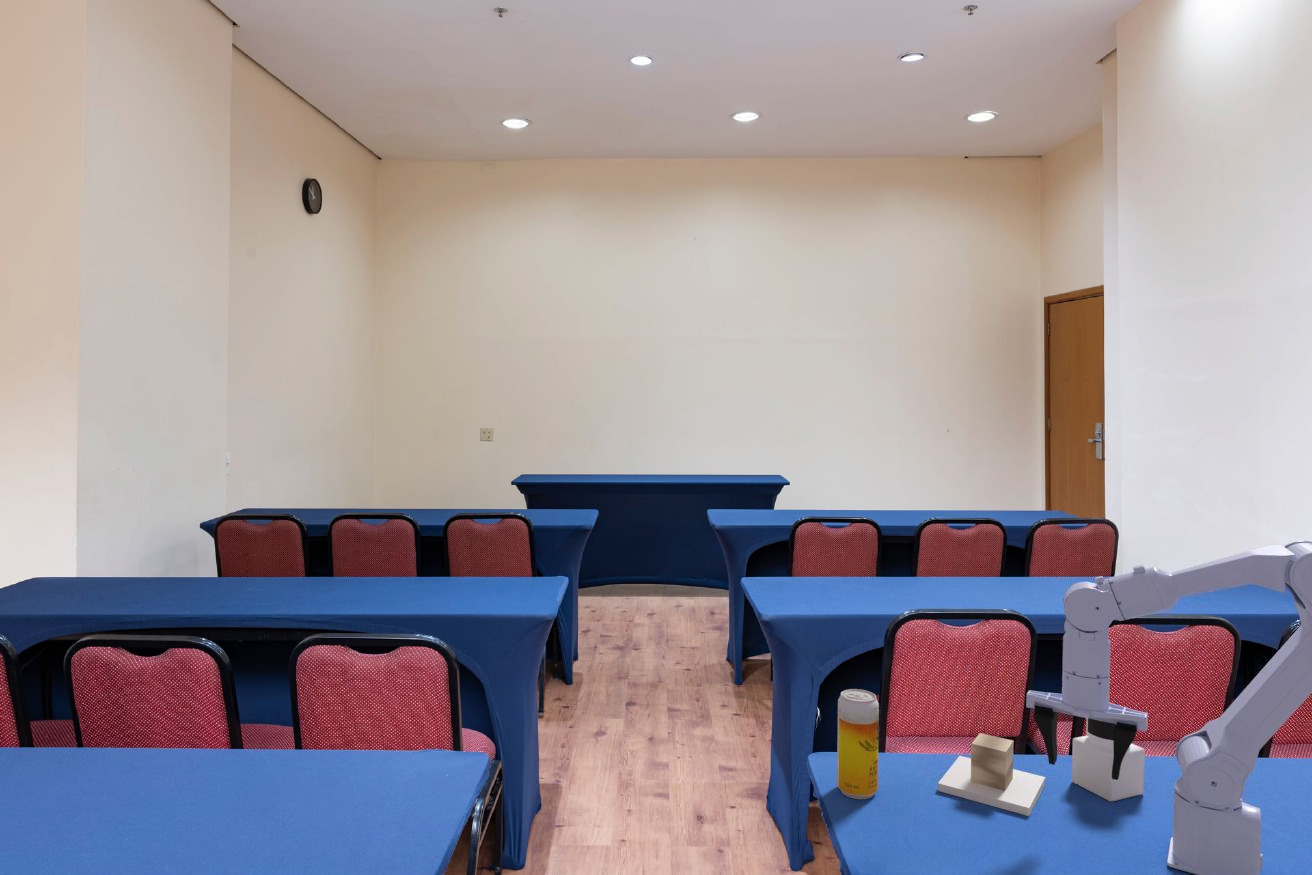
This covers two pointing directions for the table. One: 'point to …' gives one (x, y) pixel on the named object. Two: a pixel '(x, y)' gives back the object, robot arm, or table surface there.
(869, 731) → the beer can
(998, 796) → the white board
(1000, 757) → the maple block
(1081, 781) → the medicine bottle
